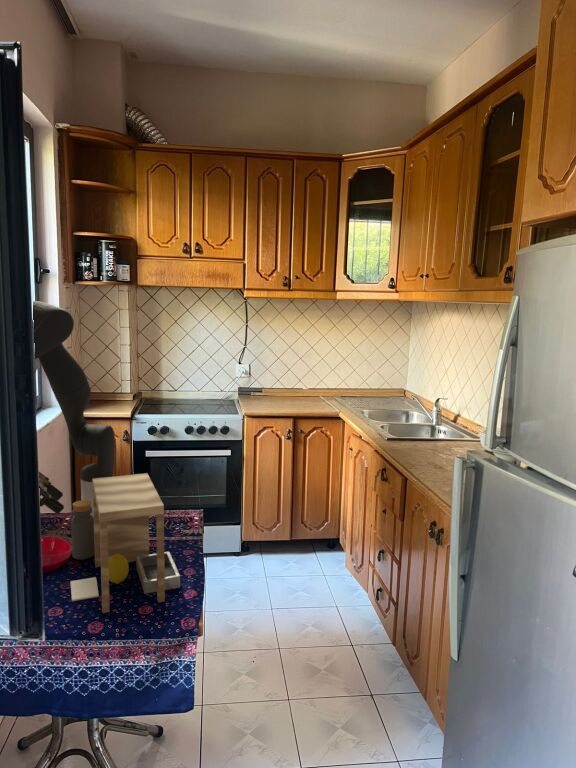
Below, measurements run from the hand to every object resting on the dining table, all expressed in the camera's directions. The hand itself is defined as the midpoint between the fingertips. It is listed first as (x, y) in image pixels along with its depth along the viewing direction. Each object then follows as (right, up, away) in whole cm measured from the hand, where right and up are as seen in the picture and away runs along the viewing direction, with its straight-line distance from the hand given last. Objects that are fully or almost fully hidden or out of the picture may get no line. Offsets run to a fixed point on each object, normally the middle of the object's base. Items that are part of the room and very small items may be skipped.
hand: (60, 503), depth 130 cm
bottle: (-3, -19, +23) cm, 30 cm away
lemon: (+11, -22, +9) cm, 26 cm away
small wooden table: (+13, -22, +10) cm, 27 cm away
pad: (+4, -22, +6) cm, 23 cm away
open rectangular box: (+20, -22, +12) cm, 32 cm away
